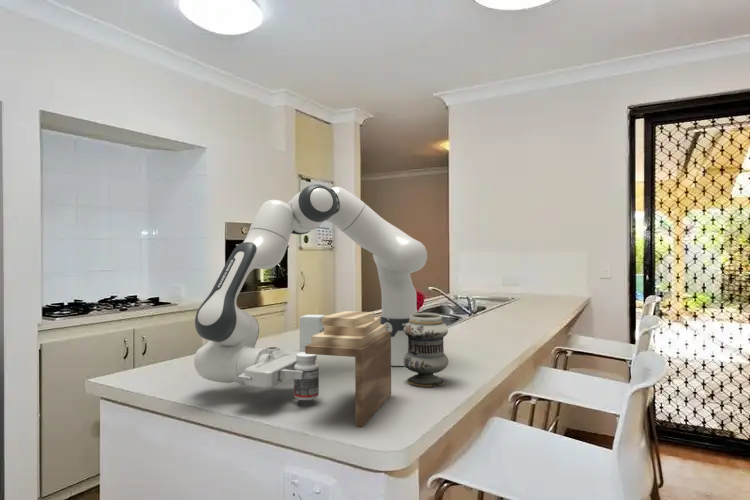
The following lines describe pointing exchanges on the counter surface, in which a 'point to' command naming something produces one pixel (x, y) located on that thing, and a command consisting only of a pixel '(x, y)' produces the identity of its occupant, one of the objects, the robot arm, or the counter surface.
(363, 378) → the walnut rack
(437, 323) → the apothecary jar
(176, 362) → the counter surface
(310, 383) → the pill bottle
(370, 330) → the offcut stack
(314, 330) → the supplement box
